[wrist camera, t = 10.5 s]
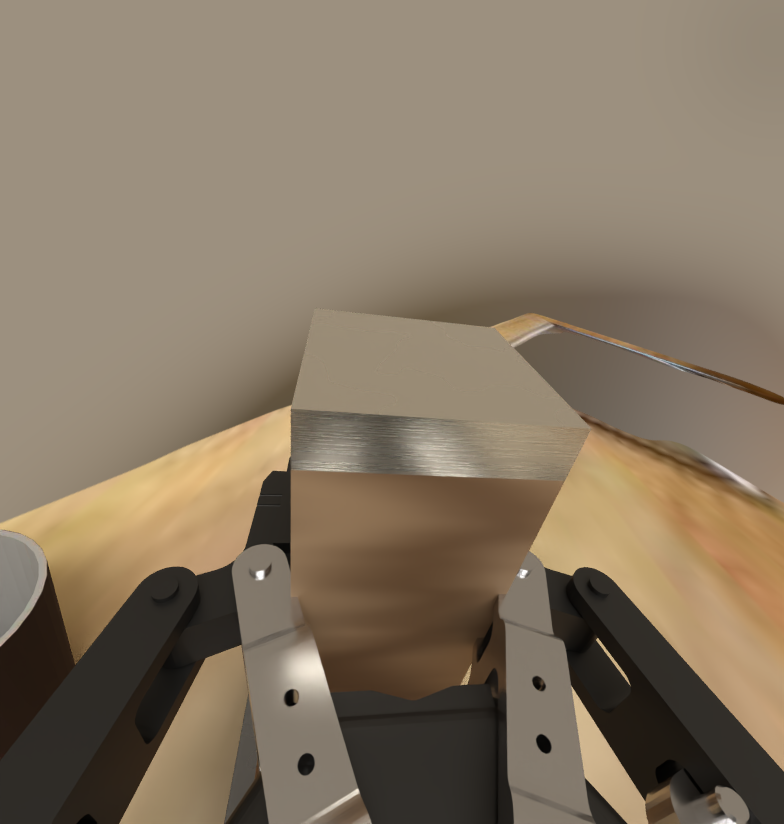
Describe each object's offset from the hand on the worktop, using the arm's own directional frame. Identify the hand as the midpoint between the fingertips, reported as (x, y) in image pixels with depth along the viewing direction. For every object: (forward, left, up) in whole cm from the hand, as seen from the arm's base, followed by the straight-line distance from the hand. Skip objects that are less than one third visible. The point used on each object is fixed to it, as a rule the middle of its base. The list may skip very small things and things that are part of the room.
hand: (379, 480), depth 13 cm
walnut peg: (0, -3, -8) cm, 8 cm away
